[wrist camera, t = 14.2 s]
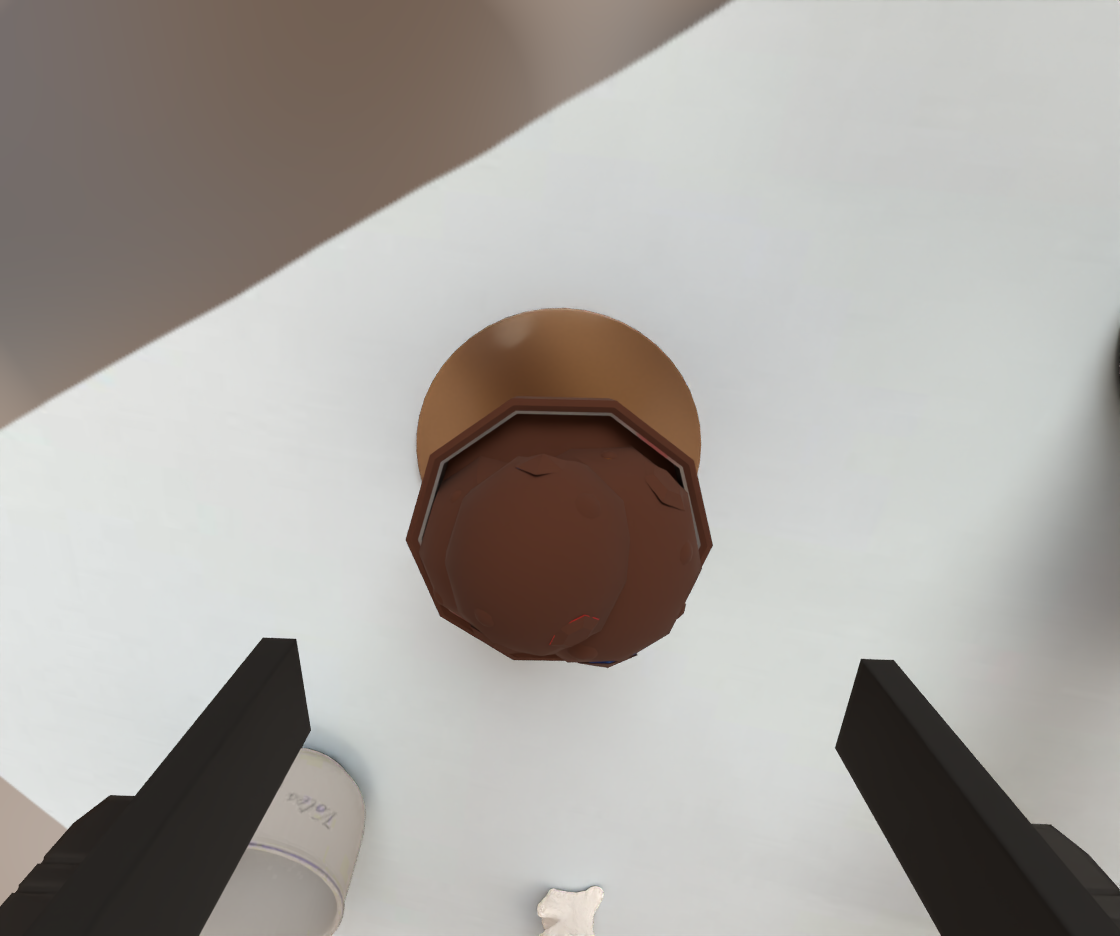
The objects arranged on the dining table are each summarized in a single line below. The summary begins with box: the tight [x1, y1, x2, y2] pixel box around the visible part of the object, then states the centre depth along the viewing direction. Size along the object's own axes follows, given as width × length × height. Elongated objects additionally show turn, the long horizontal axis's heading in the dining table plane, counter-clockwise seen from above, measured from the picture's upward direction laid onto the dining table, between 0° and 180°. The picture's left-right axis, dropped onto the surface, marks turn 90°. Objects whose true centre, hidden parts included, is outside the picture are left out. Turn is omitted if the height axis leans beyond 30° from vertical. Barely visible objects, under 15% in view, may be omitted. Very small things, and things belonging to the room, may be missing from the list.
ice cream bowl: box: [406, 396, 713, 668], centre depth 21 cm, size 11×11×15 cm
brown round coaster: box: [417, 308, 701, 481], centre depth 29 cm, size 15×15×1 cm
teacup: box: [199, 748, 365, 936], centre depth 33 cm, size 14×11×8 cm
